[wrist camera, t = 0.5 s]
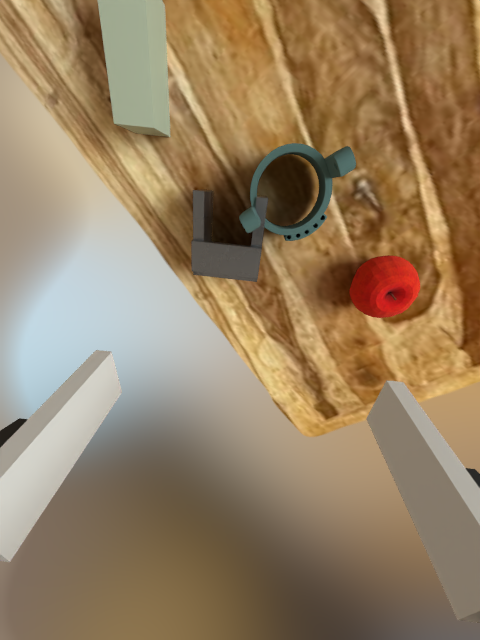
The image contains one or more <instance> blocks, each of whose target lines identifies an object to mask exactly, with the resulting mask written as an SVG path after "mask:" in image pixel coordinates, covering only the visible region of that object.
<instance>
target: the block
mask: <svg viewBox="0 0 480 640" xmlns="http://www.w3.org/2000/svg"><path fill="white" fill-rule="evenodd" d="M98 7H99V15H100V22H101V30H102V37H103V45H104V52H105V60H106V67H107V75H108V82H109V90H110V97H111V105H112V112H113V120H114V124H116V125H118V126H120V127H123V128H125V129H127V130H130V131H132V132H134V133H137V134H146V135H155V136H165V137H170V116H169V92H168V68H167V44H166V20H165V5H164V3H163V1H162V0H98Z"/></svg>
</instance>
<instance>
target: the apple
mask: <svg viewBox="0 0 480 640" xmlns="http://www.w3.org/2000/svg"><path fill="white" fill-rule="evenodd" d="M419 290H420V281H419V277H418V273H417V271H416V270H415V268H414V267H413V265H412V264H410V263H409V262H408V261H407V260H405V259H403V258H401V257H397V256H380V257H375V258H372V259H370V260H368V261H367V262H365V263H364V264H362V265H361V266H360V267H359V268H358V270H357V272H356V274H355V276H354V278H353V281H352V284H351V287H350V297H351V300H352V302H353V303H354V305H355V307H356V308H357V309H359V310H360V311H361V312H363V313H364V314H366V315H369V316H372V317H377V318H383V317H391V316H394V315H397V314H400V313H402V312H403V311H405V310H406V309H407V308H409V306H410V305H411V304H412V303H413V301H414V300H415V299H416V297H417V296H418V293H419Z"/></svg>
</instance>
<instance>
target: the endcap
mask: <svg viewBox="0 0 480 640" xmlns="http://www.w3.org/2000/svg"><path fill="white" fill-rule="evenodd" d="M213 195H214V191H212V190H193V240H192V271H193V275H201V276H210V277H219V278H228V279H237V280H246V281H254V282H257V279H258V271H259V264H260V257H261V249H262V240H263V232H264V225H265V218H266V210H267V203H268V198H267V196H258V195H257V198H256V207H255V210H256V212H257V214H258V216H259V218H260V220H261V224H260V227H259V228H257V229H255V230H254V231H253V234H252V242H251V246H247V245H238V244H229V243H220V242H212V225H213Z"/></svg>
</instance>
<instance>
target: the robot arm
mask: <svg viewBox="0 0 480 640" xmlns="http://www.w3.org/2000/svg"><path fill="white" fill-rule="evenodd" d="M121 393H122V390H121V387H120V383H119V379H118V375H117V371H116V368H115V363H114V359H113V356H112V352H109V351H99V350H96V351H95V352H94V353H93V354H92V355H91V356H90V357H89V358H88V359H87V360H86V361H85V362H84V363H83V364H82V365H81V366H80V367H79V368H78V369H77V370H76V371H75V372H74V373H73V374H72V375H71V376H70V377H69V378H68V379H67V380H66V381H65V383H63V384H62V385H61V386H60V387H59V389H58V390H57V391H56V392H55V393H54V394H53V395H52V396H51V397H50V398H49V399H48V400H47V401H46V402H45V403H44V404H43V405H42V406H41V407H40V408H39V409H38V410H37V411H36V412H35V413H34V414H33V415H32V416H31V417H30V418H29V419H18V420H16V421H15V422H13V423H12V424H10V425H9V426H7V427H5V428H4V429H2V430H1V431H0V561H6V562H10V561H11V559H12V558H13V556H14V555H15V553H16V552H17V550H18V549H19V547H20V546H21V544H22V543H23V541H24V540H25V538H26V537H27V535H28V534H29V532H30V531H31V529H32V527H33V526H34V524H35V523H36V521H37V520H38V518H39V517H40V515H41V514H42V512H43V511H44V509H45V508H46V506H47V505H48V503H49V501H50V500H51V499H52V497H53V496H54V494H55V493H56V491H57V490H58V488H59V486H60V485H61V484H62V482H63V481H64V479H65V478H66V476H67V475H68V473H69V471H70V470H71V469H72V467H73V465H74V464H75V462H76V461H77V459H78V458H79V456H80V455H81V453H82V452H83V450H84V449H85V447H86V446H87V444H88V443H89V441H90V440H91V438H92V437H93V435H94V434H95V432H96V430H97V429H98V428H99V426H100V425H101V423H102V421H103V420H104V419H105V417H106V416H107V414H108V412H109V411H110V409H111V408H112V406H113V405H114V403H115V402H116V400H117V399H118V397H119V396H120V394H121ZM367 421H368V423H369V426H370V428H371V429H372V432H373V434H374V436H375V439H376V441H377V443H378V445H379V448H380V450H381V452H382V454H383V456H384V459H385V461H386V463H387V465H388V467H389V470H390V472H391V474H392V476H393V478H394V481H395V483H396V485H397V487H398V490H399V492H400V494H401V496H402V498H403V501H404V502H405V505H406V507H407V509H408V511H409V514H410V516H411V518H412V520H413V523H414V525H415V527H416V529H417V531H418V534H419V536H420V538H421V540H422V542H423V545H424V547H425V549H426V551H427V553H428V556H429V558H430V560H431V562H432V564H433V567H434V569H435V571H436V573H437V575H438V578H439V580H440V582H441V584H442V587H443V588H444V591H445V593H446V595H447V598H448V600H449V602H450V604H451V606H452V609H453V611H454V613H455V615H456V617H457V620H461V621H469V622H477V623H480V474H479V473H478V472H477V471H476V470H475V469H468V468H465V467H464V466H463V464H462V463H461V462H460V461H459V459H458V458H457V456H456V455H455V453H454V452H453V451H452V449H451V448H450V446H449V445H448V444H447V442H446V441H445V440H444V438H443V437H442V435H441V434H440V433H439V431H438V430H437V429H436V427H435V426H434V424H433V423H432V422H431V420H430V419H429V418H428V416H427V415H426V413H425V412H424V411H423V409H422V408H421V406H420V405H419V403H418V402H417V401H416V399H415V398H414V397H413V395H412V394H411V392H410V391H409V390H408V388H407V387H406V385H405V384H404V383H403V382H396V381H386V383H385V384H384V386H383V388H382V390H381V392H380V394H379V396H378V398H377V400H376V402H375V403H374V405H373V407H372V409H371V411H370V413H369V415H368V417H367Z"/></svg>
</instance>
